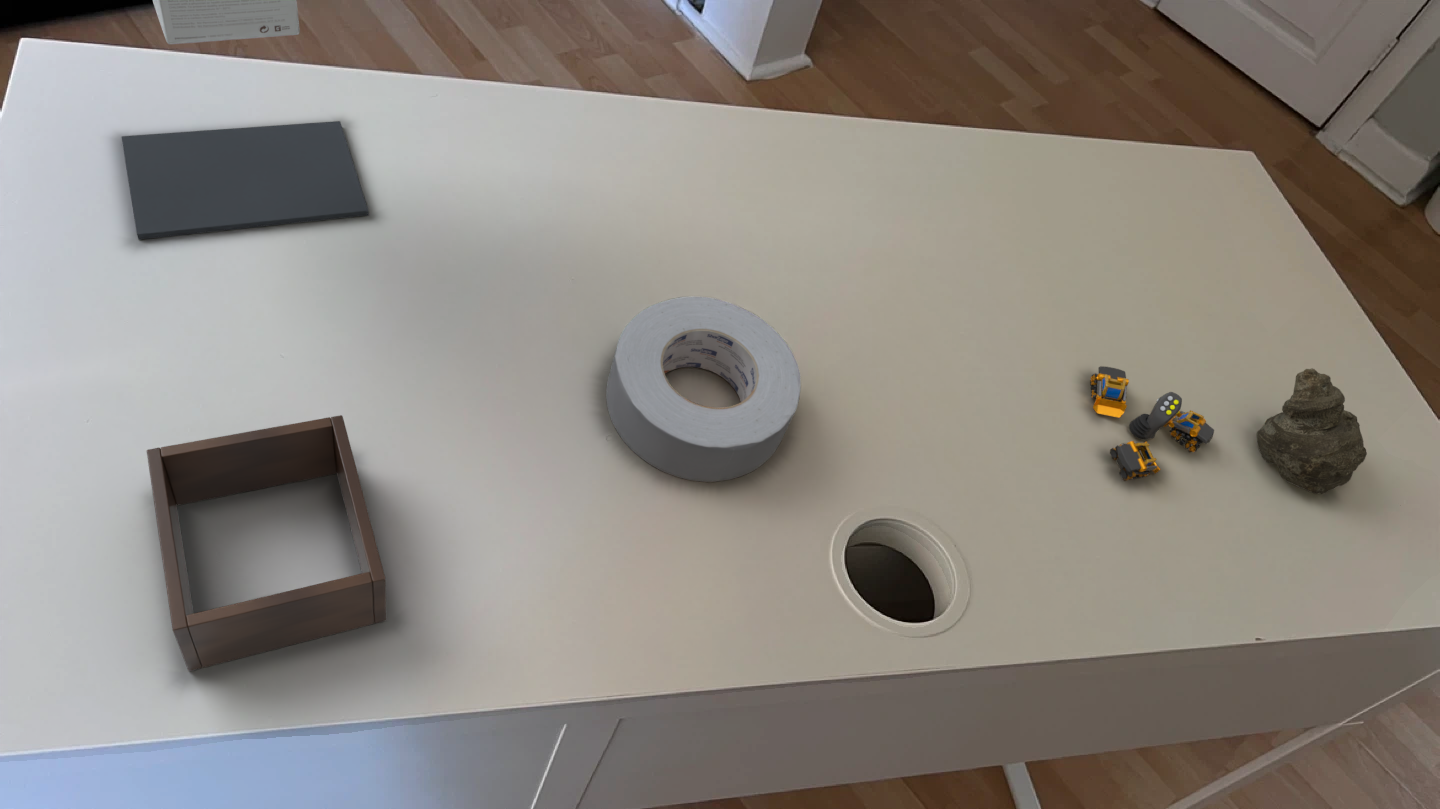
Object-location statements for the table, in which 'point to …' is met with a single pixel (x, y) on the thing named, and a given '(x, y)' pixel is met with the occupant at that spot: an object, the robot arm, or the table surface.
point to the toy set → (1145, 423)
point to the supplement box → (226, 19)
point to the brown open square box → (246, 468)
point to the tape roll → (684, 429)
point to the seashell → (1313, 436)
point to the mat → (240, 178)
